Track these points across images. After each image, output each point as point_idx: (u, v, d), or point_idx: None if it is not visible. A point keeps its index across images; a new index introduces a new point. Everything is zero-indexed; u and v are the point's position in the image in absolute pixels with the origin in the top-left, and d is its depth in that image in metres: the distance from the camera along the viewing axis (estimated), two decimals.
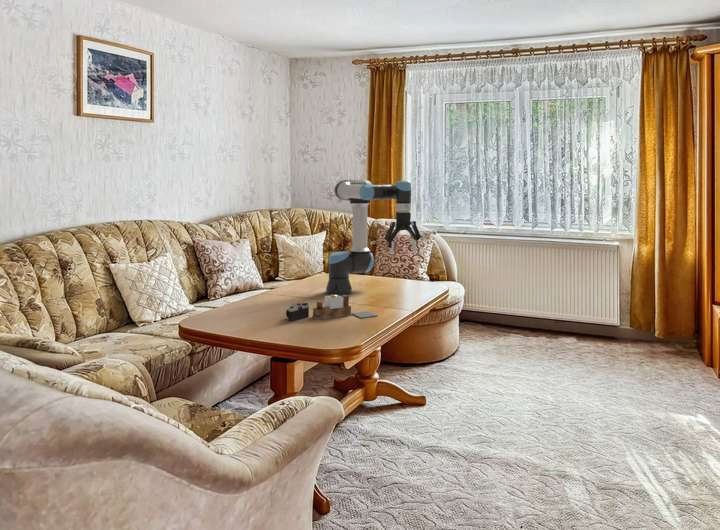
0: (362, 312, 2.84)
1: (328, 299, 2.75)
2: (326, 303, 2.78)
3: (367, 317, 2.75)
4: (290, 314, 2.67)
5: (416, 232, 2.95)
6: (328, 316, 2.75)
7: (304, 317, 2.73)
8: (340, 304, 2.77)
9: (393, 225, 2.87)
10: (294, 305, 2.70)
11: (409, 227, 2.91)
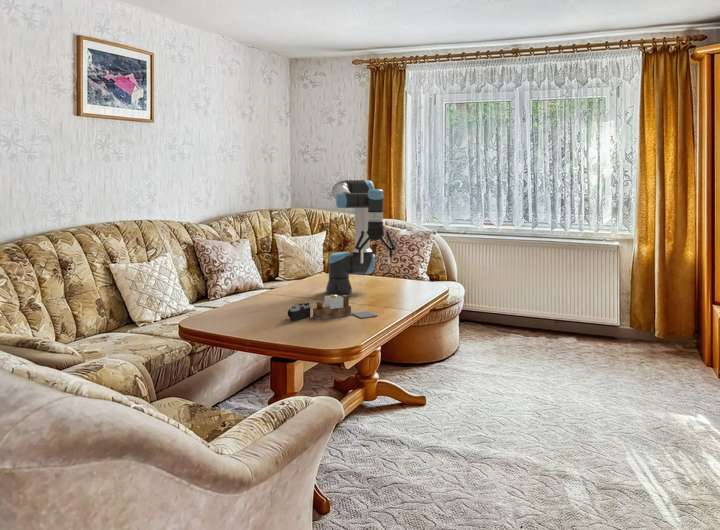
0: (362, 312, 2.84)
1: (328, 299, 2.75)
2: (326, 303, 2.78)
3: (367, 317, 2.75)
4: (292, 314, 2.67)
5: (390, 243, 2.82)
6: (328, 316, 2.75)
7: (305, 317, 2.73)
8: (340, 304, 2.77)
9: (362, 234, 2.84)
10: (296, 305, 2.70)
11: (380, 237, 2.82)
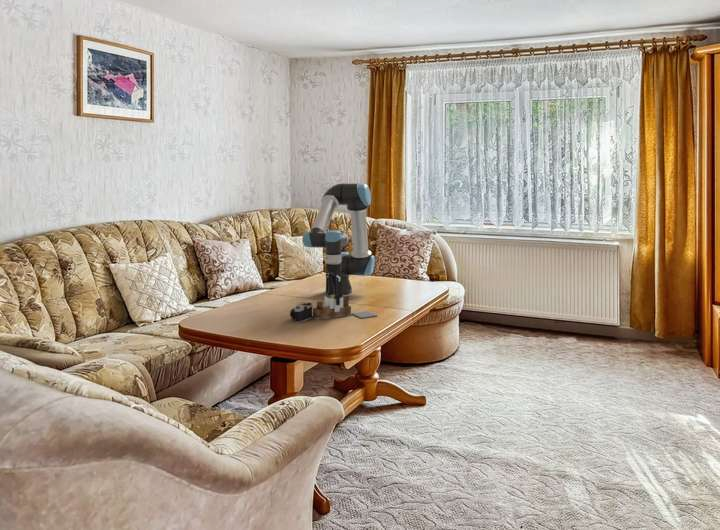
0: (362, 312, 2.84)
1: (328, 299, 2.75)
2: (326, 303, 2.78)
3: (367, 317, 2.75)
4: (297, 314, 2.66)
5: None
6: (328, 316, 2.75)
7: (308, 317, 2.73)
8: (340, 304, 2.77)
9: (326, 277, 2.81)
10: (299, 305, 2.69)
11: (332, 281, 2.74)
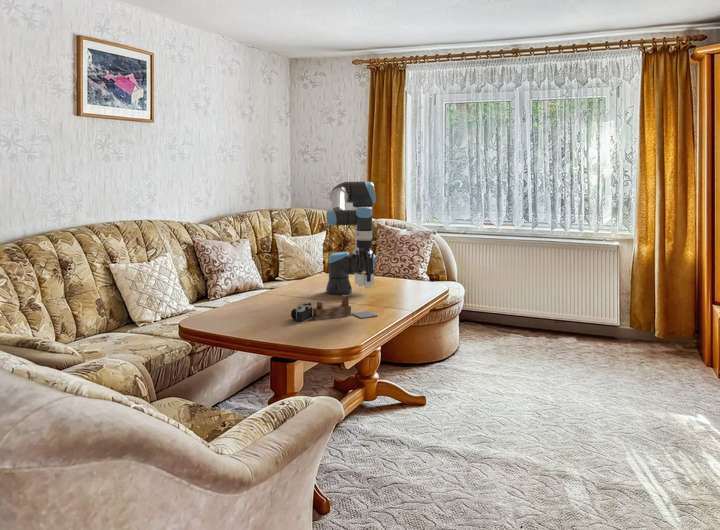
0: (362, 312, 2.84)
1: (359, 276, 2.74)
2: (356, 280, 2.77)
3: (367, 317, 2.75)
4: (299, 315, 2.66)
5: (368, 266, 2.71)
6: (328, 316, 2.75)
7: (309, 317, 2.73)
8: (371, 281, 2.75)
9: (356, 254, 2.80)
10: (301, 305, 2.69)
11: (363, 257, 2.73)
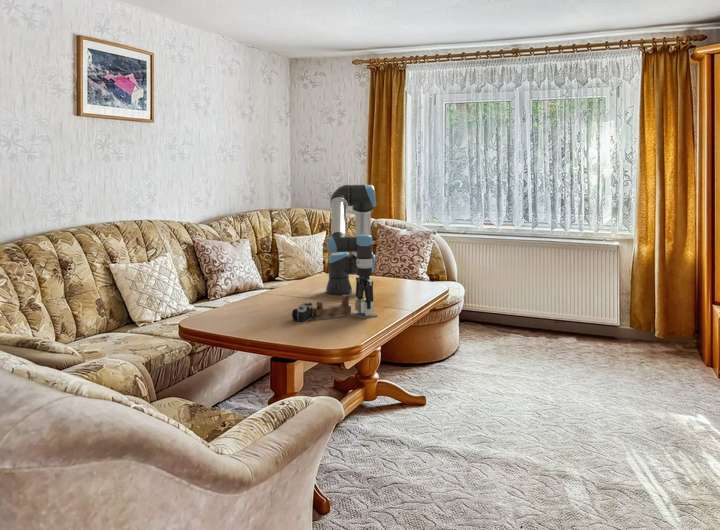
0: None
1: (359, 303, 2.76)
2: (356, 307, 2.79)
3: (367, 317, 2.75)
4: (301, 315, 2.65)
5: None
6: (328, 316, 2.75)
7: (310, 317, 2.73)
8: None
9: (356, 281, 2.82)
10: (302, 306, 2.69)
11: (363, 285, 2.75)
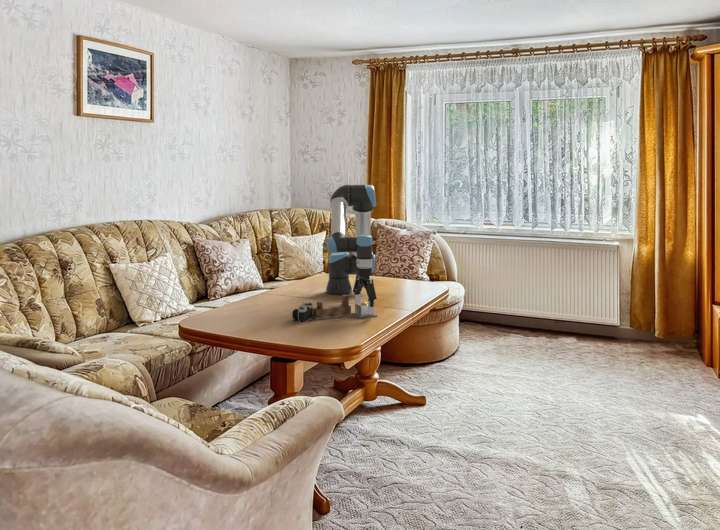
0: None
1: (359, 307, 2.77)
2: (356, 310, 2.80)
3: (367, 317, 2.75)
4: (301, 315, 2.65)
5: (370, 292, 2.71)
6: (328, 316, 2.75)
7: (310, 317, 2.73)
8: None
9: (356, 278, 2.83)
10: (302, 306, 2.69)
11: (363, 284, 2.75)
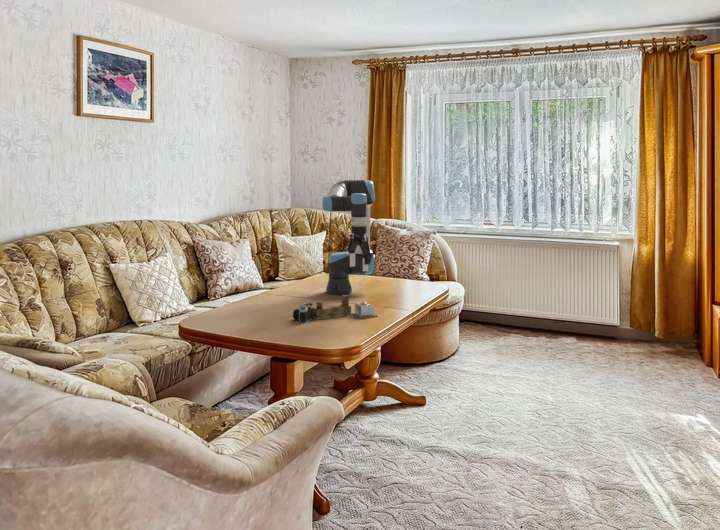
0: None
1: (359, 307, 2.77)
2: (356, 310, 2.80)
3: (367, 317, 2.75)
4: (303, 315, 2.65)
5: None
6: (328, 316, 2.75)
7: (310, 317, 2.73)
8: (371, 311, 2.78)
9: (350, 237, 2.84)
10: (303, 306, 2.68)
11: (358, 242, 2.77)
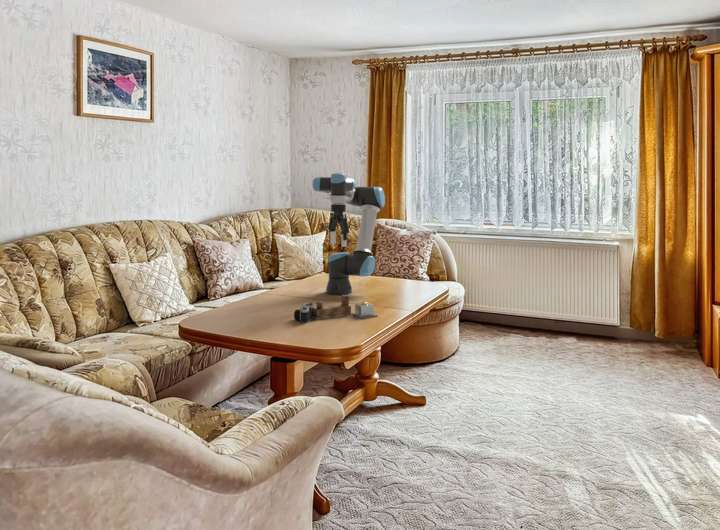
0: None
1: (359, 307, 2.77)
2: (356, 310, 2.80)
3: (367, 317, 2.75)
4: (304, 315, 2.65)
5: None
6: (328, 316, 2.75)
7: (311, 317, 2.73)
8: (371, 311, 2.78)
9: (331, 216, 3.00)
10: (304, 306, 2.68)
11: (337, 219, 2.92)
